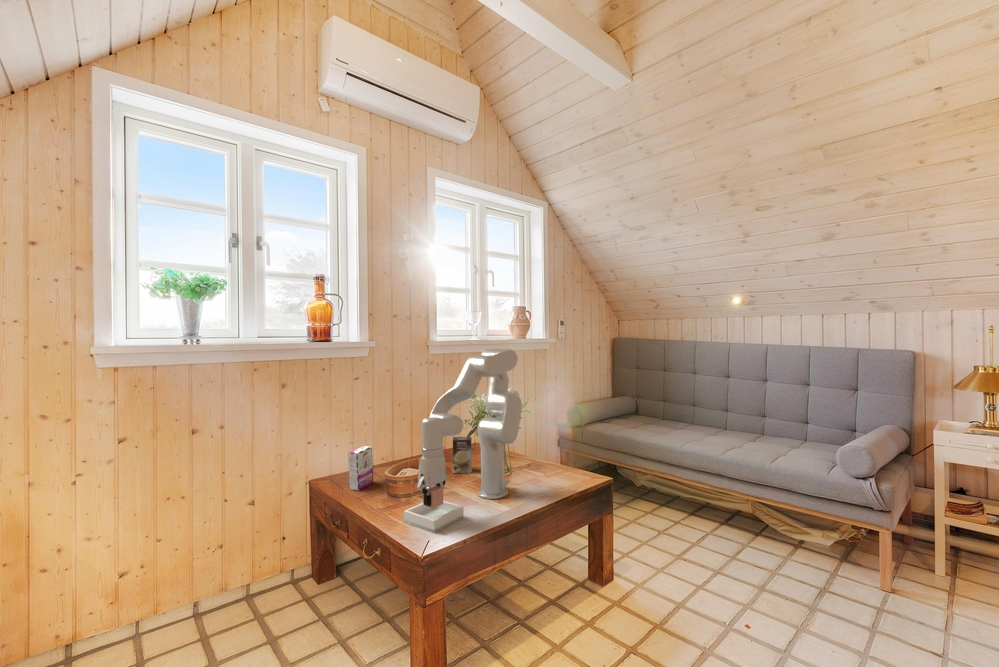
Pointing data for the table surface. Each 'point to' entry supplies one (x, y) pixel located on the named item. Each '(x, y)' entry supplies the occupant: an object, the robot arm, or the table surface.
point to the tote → (433, 516)
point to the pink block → (435, 496)
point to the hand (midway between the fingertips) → (433, 502)
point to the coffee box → (462, 455)
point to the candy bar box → (360, 468)
